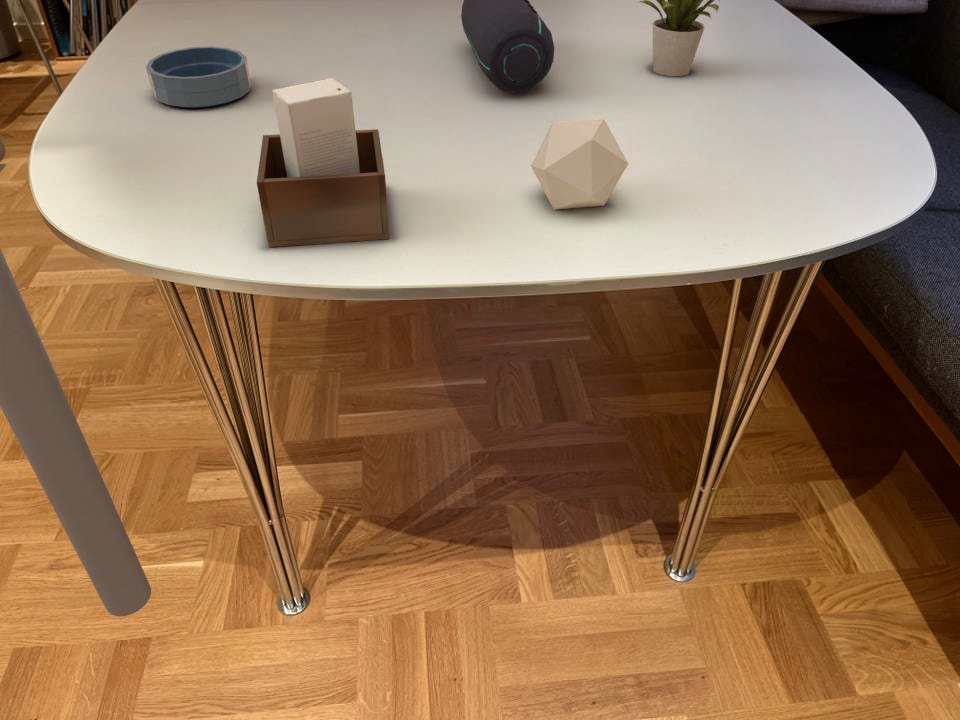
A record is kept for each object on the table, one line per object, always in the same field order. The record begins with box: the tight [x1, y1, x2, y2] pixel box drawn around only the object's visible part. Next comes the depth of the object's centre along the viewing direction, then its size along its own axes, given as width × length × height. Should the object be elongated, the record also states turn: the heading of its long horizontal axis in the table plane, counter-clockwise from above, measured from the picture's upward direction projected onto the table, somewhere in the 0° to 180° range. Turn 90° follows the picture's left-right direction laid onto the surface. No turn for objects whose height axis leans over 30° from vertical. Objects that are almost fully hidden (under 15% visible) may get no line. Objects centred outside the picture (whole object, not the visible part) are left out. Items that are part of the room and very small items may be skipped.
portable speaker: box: [460, 0, 555, 93], centre depth 106 cm, size 25×10×10 cm, turn 9°
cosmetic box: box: [271, 77, 360, 178], centre depth 72 cm, size 6×4×12 cm
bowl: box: [145, 45, 252, 109], centre depth 100 cm, size 12×12×4 cm
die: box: [530, 118, 629, 211], centre depth 77 cm, size 8×9×10 cm
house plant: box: [637, 0, 720, 77], centre depth 105 cm, size 14×14×16 cm
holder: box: [256, 128, 390, 248], centre depth 74 cm, size 11×10×7 cm
